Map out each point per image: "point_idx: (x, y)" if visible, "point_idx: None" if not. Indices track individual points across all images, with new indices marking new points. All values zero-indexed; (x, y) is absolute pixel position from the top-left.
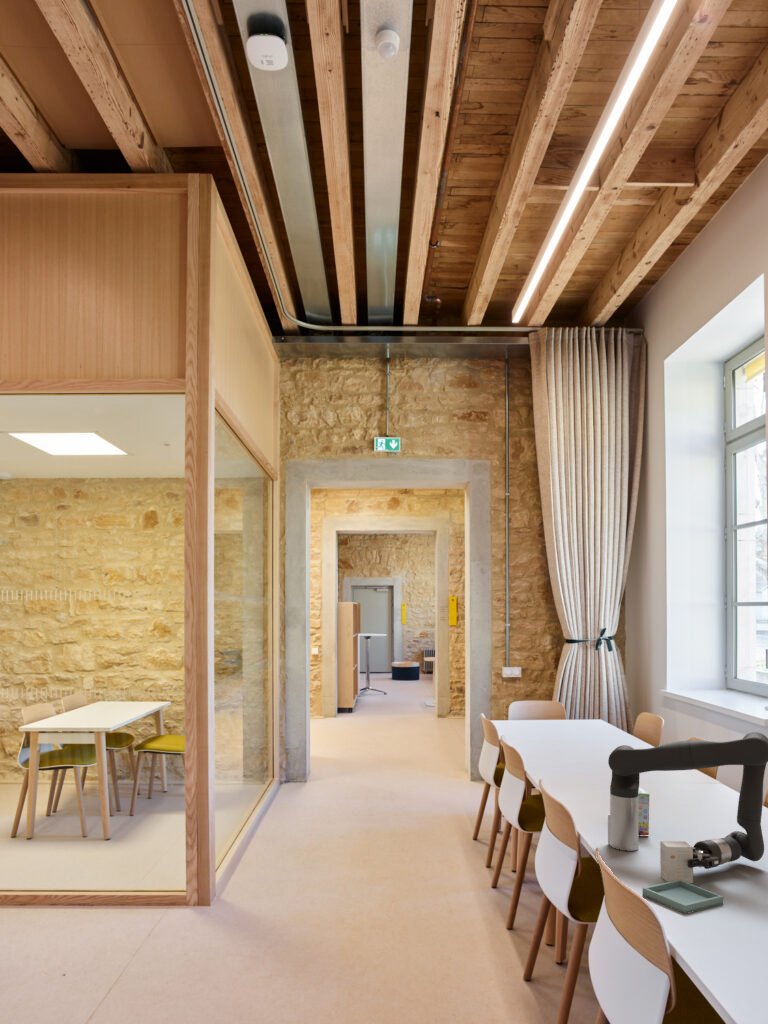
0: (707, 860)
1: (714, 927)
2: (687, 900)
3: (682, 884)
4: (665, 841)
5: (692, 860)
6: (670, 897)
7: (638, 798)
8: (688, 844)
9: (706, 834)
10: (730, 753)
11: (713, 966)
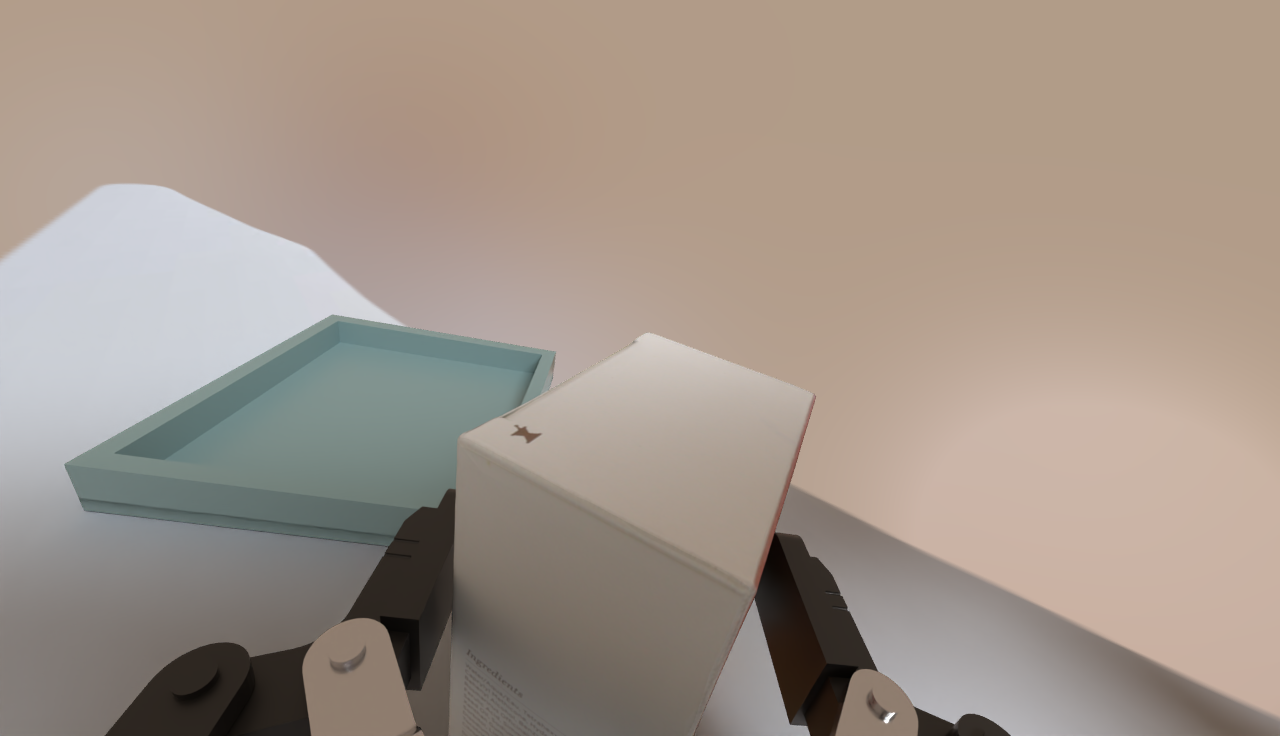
0: (170, 664)
1: (189, 317)
2: (357, 402)
3: None
4: (795, 406)
5: (431, 521)
6: (445, 390)
7: None
8: (577, 483)
9: None
10: None
11: (201, 228)
